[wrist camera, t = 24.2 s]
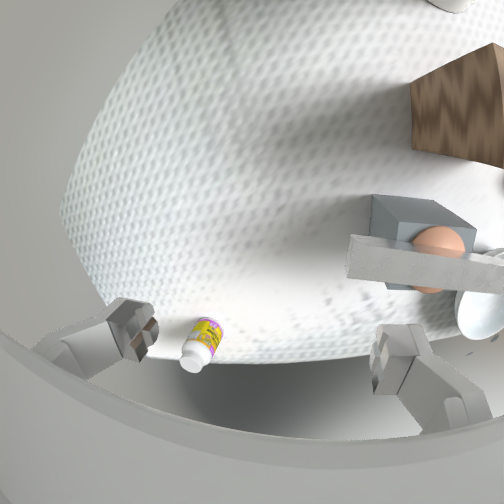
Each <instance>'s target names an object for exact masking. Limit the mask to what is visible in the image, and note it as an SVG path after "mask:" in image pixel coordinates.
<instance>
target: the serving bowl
mask: <svg viewBox="0 0 504 504" xmlns="http://www.w3.org/2000/svg"><path fill="white" fill-rule="evenodd" d="M483 255H487V256H492V257H497V258H502V259H504V248H498V249H494V250H491V251H489V252H487V253H485V254H483ZM455 318H456V322H457V325H458V328H459V330H460V332H461V333H462V334H463V335H464V336H465V337H466V338H469V339H472V340H480V339H485V338H488V337H490V336H492V335H494V334H496V333H497V332H499V331H500V330H501V329H502V328H504V294H503V295H500V294H490V293H479V292H469V291H457V293H456V298H455Z"/></svg>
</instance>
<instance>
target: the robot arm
mask: <svg viewBox="0 0 504 504" xmlns="http://www.w3.org/2000/svg"><path fill="white" fill-rule="evenodd" d="M428 1H429V2H431V3H432V4H434V5H435V6H437V7H439V8H441V9H443V10H446V11H449V12H452V13H462V12H464V11H466V10H467V8H468V6H469V5H471V4H474V3H475V2H476V1H477V0H428ZM154 313H155V312H154V309H153V305H151V304H150V303H147V302H142V301H137V300H133V299H127V298H122V297H119V298H116V299H115V300H114V301H113V302H112V303H111V304H110V305H109V306H107V308H105V309H104V310H103V311H102V312H101V313H100V314H99V315H98V316H97V317H96V318H94V317H92V318H89V319H86V320H83V321H81V322H78V323H76V324H73V325H70V326H67V327H65V328H62V329H59V330H56V331H54V332H51V333H48V334H47V335H45V336H44V337H43V338H42V339H41V340H40V341H39V342H38V343H37V344H36V345H35V346H34V347H33V348H32V349H28V348H27V347H25V346H24V345H22V344H21V343H19V342H18V341H16V340H15V339H13V338H12V337H11V336H9V335H8V334H7V333H5V332H4V331H2V330H1V329H0V504H504V415H503V416H500V417H497V418H493V417H492V414H491V411H490V408H489V405H488V403H487V400H486V397H485V395H484V392H483V390H482V389H480V388H479V387H478V386H476V385H475V384H474V383H473V382H471V381H470V380H469V379H468V378H466V377H465V376H464V375H463V374H461V373H460V372H459V371H457V370H456V369H455V368H454V367H452V366H451V365H450V364H448V363H447V362H446V361H445V360H443V359H442V358H441V357H439V356H438V355H433V352H432V349H431V347H430V344H429V342H428V340H427V337H426V335H425V332H424V330H423V328H422V325H421V324H406V325H379V326H378V328H377V331H376V338H377V341H376V342H375V343H373V345H372V349H371V354H370V370H371V371H372V372H373V373H374V375H373V378H372V386H373V394H374V395H397V397H398V398H399V399H400V401H401V402H402V403H403V404H404V406H405V407H406V408H407V410H408V411H409V412H410V413H411V415H412V416H413V417H414V418H415V420H416V421H417V422H418V423H419V425H420V426H421V427H422V429H423V430H422V432H421V433H420V434H419V435H417V436H409V437H400V438H390V439H374V440H314V439H300V438H289V437H279V436H271V435H264V434H256V433H250V432H244V431H239V430H233V429H228V428H223V427H219V426H214V425H210V424H206V423H201V422H198V421H194V420H190V419H186V418H183V417H179V416H176V415H172V414H169V413H166V412H163V411H159V410H157V409H154V408H150V407H148V406H145V405H142V404H139V403H137V402H134V401H131V400H129V399H126V398H124V397H121V396H119V395H116V394H114V393H112V392H109V391H107V390H105V389H102V388H100V387H98V386H96V385H94V384H92V383H89V382H88V381H87V380H88V379H89V378H91V377H93V376H94V375H96V374H98V373H100V372H101V371H103V370H105V369H106V368H108V367H110V366H111V365H113V364H115V363H117V362H118V361H120V360H122V358H125V359H128V360H132V361H135V362H139V363H140V362H141V360H142V359H143V357H144V356H145V355H146V354H147V352H148V348H147V347H149V346H151V345H153V344H154V343H155V341H156V340H157V337H158V334H159V326H158V323H157V321H156V320H155V319H154V317H153V315H154Z"/></svg>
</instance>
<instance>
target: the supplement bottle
mask: <svg viewBox="0 0 504 504" xmlns="http://www.w3.org/2000/svg"><path fill="white" fill-rule="evenodd" d="M223 334H224V330H223V327H222V325H221V324H220V323H219V322H218V321H216V320H215V319H212V318H202V319H200V320H199V321H198V323H197V324H196V326H195V327H194V329H193V330H192V332H191V333H190V335H189V337H188V338H187V340H186V341H185V343H184V345H183V346H182V354H183V355H182V357H181V358H180V364H181V366H182V367H183V368H184V369H185V370H187V371H189V372H192V373H197V372H199V371H200V370H201V369H202V366H204V365H207V364H208V363H209V362H210V361H211V359H212V357H213V355H214V353H215V351H216V349H217V347H218V345H219V343H220V341H221V339H222V337H223Z"/></svg>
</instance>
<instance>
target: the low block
mask: <svg viewBox="0 0 504 504" xmlns="http://www.w3.org/2000/svg"><path fill="white" fill-rule="evenodd" d="M476 231H477V229H476V228H474V227H473V226H472V225H470V224H469V223H467V222H466V221H464V220H463V219H462V218H460V217H459V216H457V215H456V214H454V213H453V212H451V211H449V210H448V209H446V208H445V207H443V206H442V205H440V204H438V203H437V202H435V201H434V200H427V199H418V198H408V197H398V196H387V195H375V194H373V196H372V209H371V221H370V231H369V236H370V237H377V238H384V239H391V240H398V241H404V242H411V243H417V244H423V245H429V246H436V247H442V248H447V249H453V250H459V251H465V252H470V253H472V250H473V246H474V241H475V236H476ZM385 284H386V287H387V289H389V290H418V291H420V292H422V293H428V294H430V293H437V292H440V291H459V290H450V289H440V288H431V287H422V286H412V285H403V284H395V283H386V282H385Z"/></svg>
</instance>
